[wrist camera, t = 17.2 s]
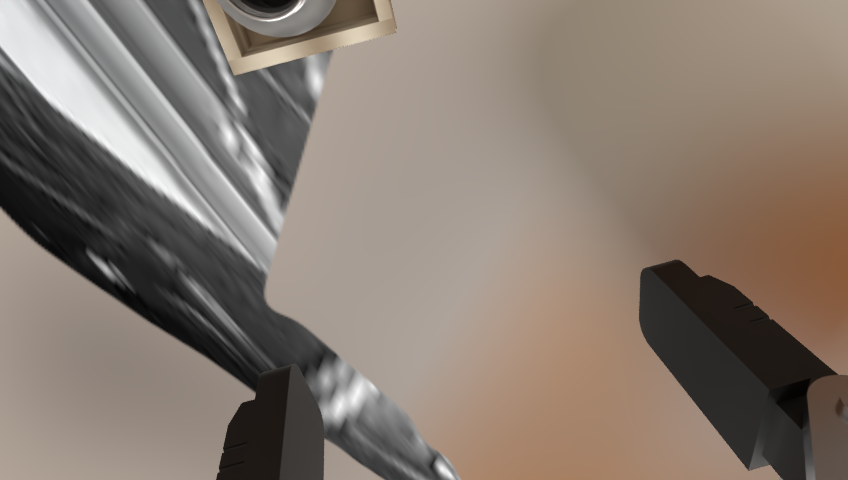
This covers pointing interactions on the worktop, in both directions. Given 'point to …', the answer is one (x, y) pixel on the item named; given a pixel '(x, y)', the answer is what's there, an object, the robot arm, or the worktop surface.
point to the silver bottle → (278, 15)
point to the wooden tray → (345, 25)
